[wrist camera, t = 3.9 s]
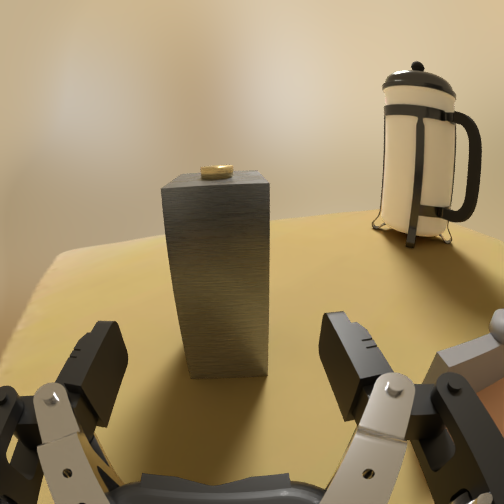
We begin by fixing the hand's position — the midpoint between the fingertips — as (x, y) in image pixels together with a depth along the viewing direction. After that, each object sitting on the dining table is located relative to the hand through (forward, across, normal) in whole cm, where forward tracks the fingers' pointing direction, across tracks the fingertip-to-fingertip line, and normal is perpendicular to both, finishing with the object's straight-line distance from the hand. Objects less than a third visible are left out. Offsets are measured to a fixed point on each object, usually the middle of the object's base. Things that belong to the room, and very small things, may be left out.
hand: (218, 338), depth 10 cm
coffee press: (+29, -31, +7) cm, 43 cm away
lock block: (+7, 0, +7) cm, 10 cm away
